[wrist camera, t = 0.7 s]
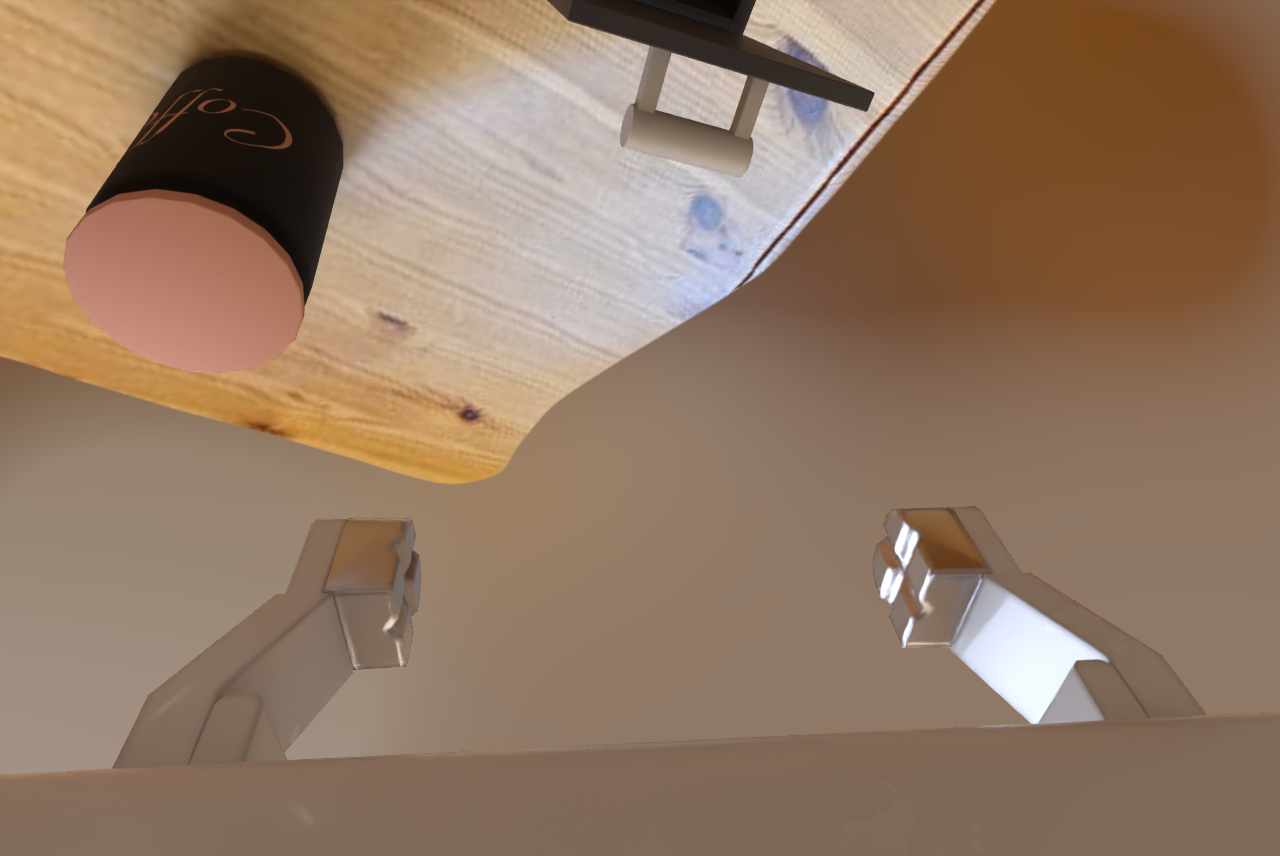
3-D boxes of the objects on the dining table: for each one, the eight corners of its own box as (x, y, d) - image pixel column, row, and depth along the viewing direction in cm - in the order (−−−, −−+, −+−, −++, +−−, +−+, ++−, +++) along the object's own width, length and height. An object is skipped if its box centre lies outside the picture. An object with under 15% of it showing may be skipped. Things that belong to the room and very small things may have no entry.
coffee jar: (328, 51, 48) (274, 196, 36) (359, 206, 56) (323, 371, 43) (141, 45, 46) (16, 196, 34) (199, 206, 54) (114, 378, 41)
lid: (572, -3, 25) (542, 138, 27) (875, 93, 29) (827, 210, 31) (530, -34, 37) (511, 64, 40) (745, 35, 41) (717, 121, 43)
